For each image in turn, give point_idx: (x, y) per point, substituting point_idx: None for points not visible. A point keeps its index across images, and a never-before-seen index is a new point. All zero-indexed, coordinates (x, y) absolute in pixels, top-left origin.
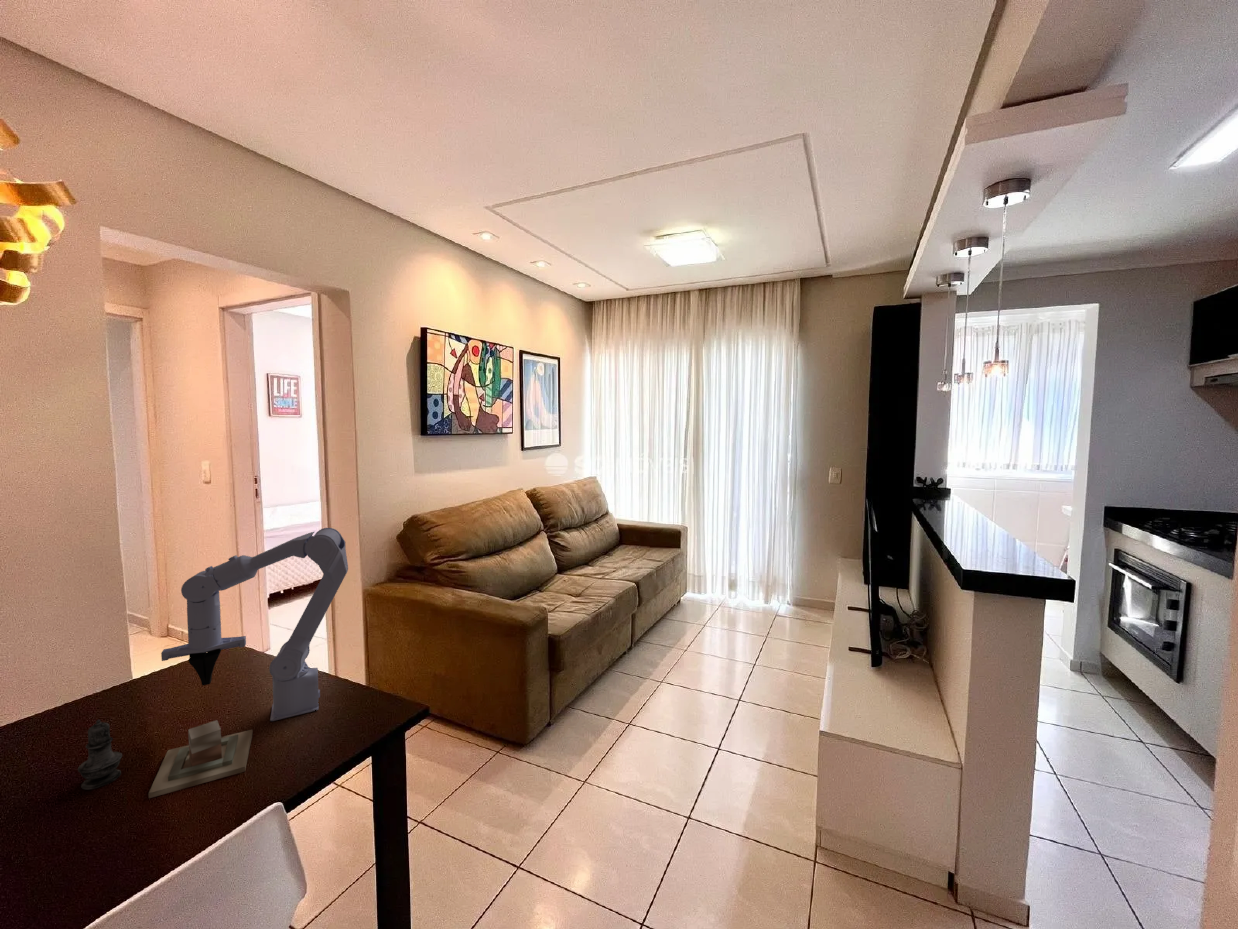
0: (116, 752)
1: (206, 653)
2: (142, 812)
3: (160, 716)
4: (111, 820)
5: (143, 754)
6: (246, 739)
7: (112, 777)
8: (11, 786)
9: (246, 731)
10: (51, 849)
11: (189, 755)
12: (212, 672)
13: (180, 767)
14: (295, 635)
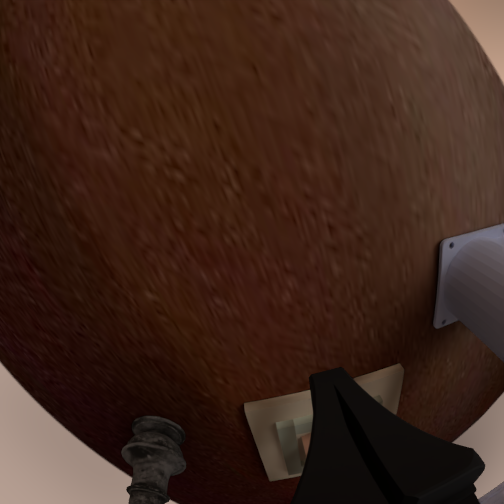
0: (162, 450)
1: (378, 494)
2: (273, 486)
3: (106, 191)
4: (241, 489)
5: (183, 387)
6: (393, 399)
7: (179, 442)
8: (26, 391)
9: (394, 376)
10: (202, 501)
11: (303, 443)
12: (363, 392)
13: (300, 464)
14: None
